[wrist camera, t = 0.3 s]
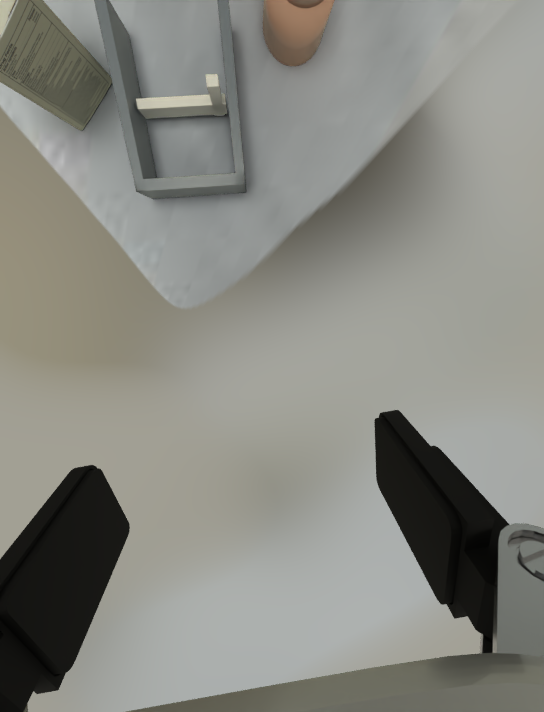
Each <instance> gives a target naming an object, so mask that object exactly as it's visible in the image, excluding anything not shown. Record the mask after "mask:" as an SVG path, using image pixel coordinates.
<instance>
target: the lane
mask: <svg viewBox="0 0 544 712" xmlns="http://www.w3.org/2000/svg"><path fill="white" fill-rule="evenodd" d="M94 1H95V6H96V10H97V15H98V19H99V24H100V29H101V33H102V38H103V42H104V47H105V51H106V56H107V60H108V65H109V69H110V74H111V79H112V83H113V88H114V92H115V97H116V101H117V106H118V110H119V115H120V119H121V124H122V128H123V133H124V138H125V142H126V147H127V151H128V156H129V160H130V165H131V169H132V174H133V178H134V183H135V188H136V192H139V193H141V194H143V195H145V196H147V197H150V198H152V199H159V198H173V197H187V196H202V195H216V194H230V193H245V192H246V184H245V173H244V162H243V151H242V140H241V129H240V119H239V108H238V97H237V86H236V75H235V64H234V53H233V42H232V31H231V21H230V10H229V0H218V10H219V19H220V29H221V39H222V49H223V58H224V68H225V78H226V88H227V97H228V107H229V117H230V127H231V137H232V146H233V156H234V166H235V173H227V174H212V175H198V176H183V177H168V178H157V177H156V171H155V166H154V161H153V156H152V151H151V146H150V140H149V135H148V130H147V125H146V120H145V117H144V116H143V115H142V114H141V112H140V111H139V110H138V107H137V102H136V99H140V98H141V94H140V89H139V83H138V78H137V73H136V68H135V63H134V58H133V52H132V47H131V42H130V37H129V33H128V32H127V30H126V28H125V27H124V25H123V23H122V22H121V20H120V18H119V16H118V15H117V13H116V11H115V10H114V8H113V6H112V4H111V3H110V1H109V0H94Z"/></svg>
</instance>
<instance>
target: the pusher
mask: <svg viewBox="0 0 544 712" xmlns="http://www.w3.org/2000/svg"><path fill="white" fill-rule="evenodd" d="M206 82H207V88H208V92H209V95H192V96H175V97H157V98H140V99H136V102H137V107H138V110H139V111H140V112H141V114H142V115H143V116H144V117H145V118H146V119H150V118H166V117H183V116H200V115H215V116H225V114H227V105H226V99H225V94H221V89H220V84H219V79H218V74H209V75H206Z"/></svg>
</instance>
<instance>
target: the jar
mask: <svg viewBox="0 0 544 712" xmlns="http://www.w3.org/2000/svg"><path fill="white" fill-rule="evenodd" d="M333 3H334V0H264V7H263V34H264V39H265V42H266V45H267V47H268V49H269V51H270V53H271V54H272V55H273V56H274V58H275V59H276V60H278V61H279V62H280V63H282V64H284V65H287V66H299V65H302V64H304V63H306V62H307V61H308V60H309V59H311V58H312V56H313V55H314V54H315V52H316V51H317V49H318V47H319V44H320V41H321V38H322V36H323V33H324V30H325V27H326V24H327V21H328V18H329V15H330V12H331V9H332V6H333Z"/></svg>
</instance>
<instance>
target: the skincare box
mask: <svg viewBox="0 0 544 712" xmlns="http://www.w3.org/2000/svg"><path fill="white" fill-rule="evenodd" d="M0 82H1V83H3V84H5V85H6V86H8V87H9V88H11V89H13V90H14V91H16V92H18V93H19V94H21V95H23V96H24V97H26V98H27V99H29V100H31V101H33V102H34V103H36V104H37V105H39V106H41V107H42V108H44V109H46V110H47V111H49V112H51V113H52V114H54V115H55V116H57V117H59V118H60V119H62V120H64V121H65V122H67V123H69V124H70V125H72V126H74V127H75V128H77V129H78V130H80V131H82V130H83V129H84V127H85V126H86V124H87V123H88V121H89V120H90V118H91V117H92V115H93V114H94V112H95V110H96V109H97V107H98V105H99V104H100V102H101V101H102V99H103V97H104V96H105V94H106V92H107V90H108V89H109V87H110V85H111V83H112V79H111V77H110V76H109V74H108V73H107V72H106V71H105V70H104V69H103V68H102V67H101V65H100V64H99V63H98V62H97V61H96V60H95V59H94V58H93V57H92V55H91V54H90V53H89V52H88V51H87V50H86V49H85V47H84V46H83V45H82V44H81V43H80V42H79V41H78V40H77V38H76V37H75V36H74V35H73V34H72V33H71V32H70V31H69V29H68V28H67V27H66V26H65V25H64V24H63V23H62V22H61V20H60V19H59V18H58V17H57V16H56V15H55V14H54V13H53V11H52V10H51V9H50V8H49V7H48V6H47V5H46V4H45V2H44V1H43V0H0Z"/></svg>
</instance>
